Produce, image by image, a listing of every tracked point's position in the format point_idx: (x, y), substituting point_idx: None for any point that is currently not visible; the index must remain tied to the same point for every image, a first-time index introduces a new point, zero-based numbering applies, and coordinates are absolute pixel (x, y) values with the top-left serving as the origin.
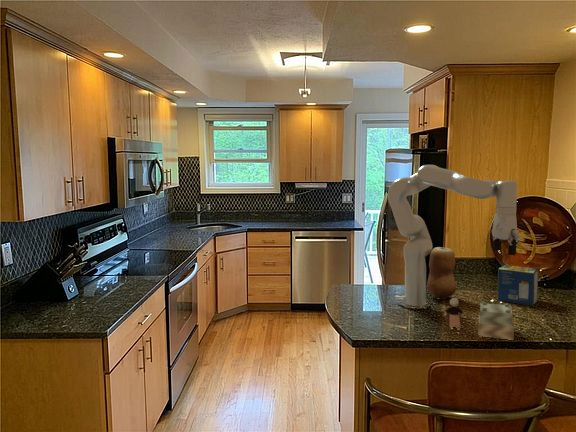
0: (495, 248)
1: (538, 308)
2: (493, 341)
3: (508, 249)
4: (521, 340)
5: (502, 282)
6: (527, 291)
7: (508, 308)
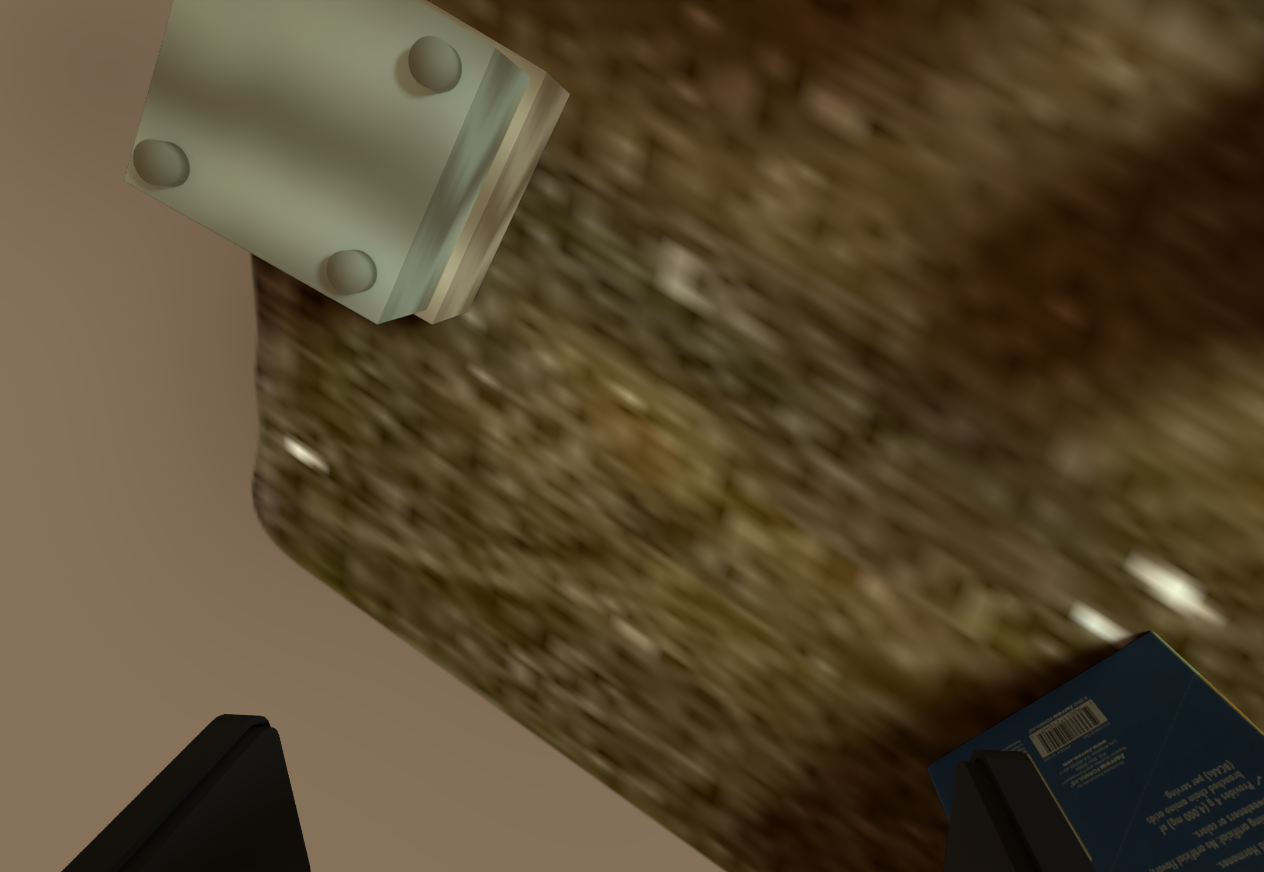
0: (983, 840)
1: (859, 763)
2: None
3: (110, 848)
4: None
5: (1235, 770)
6: None
7: (288, 244)
